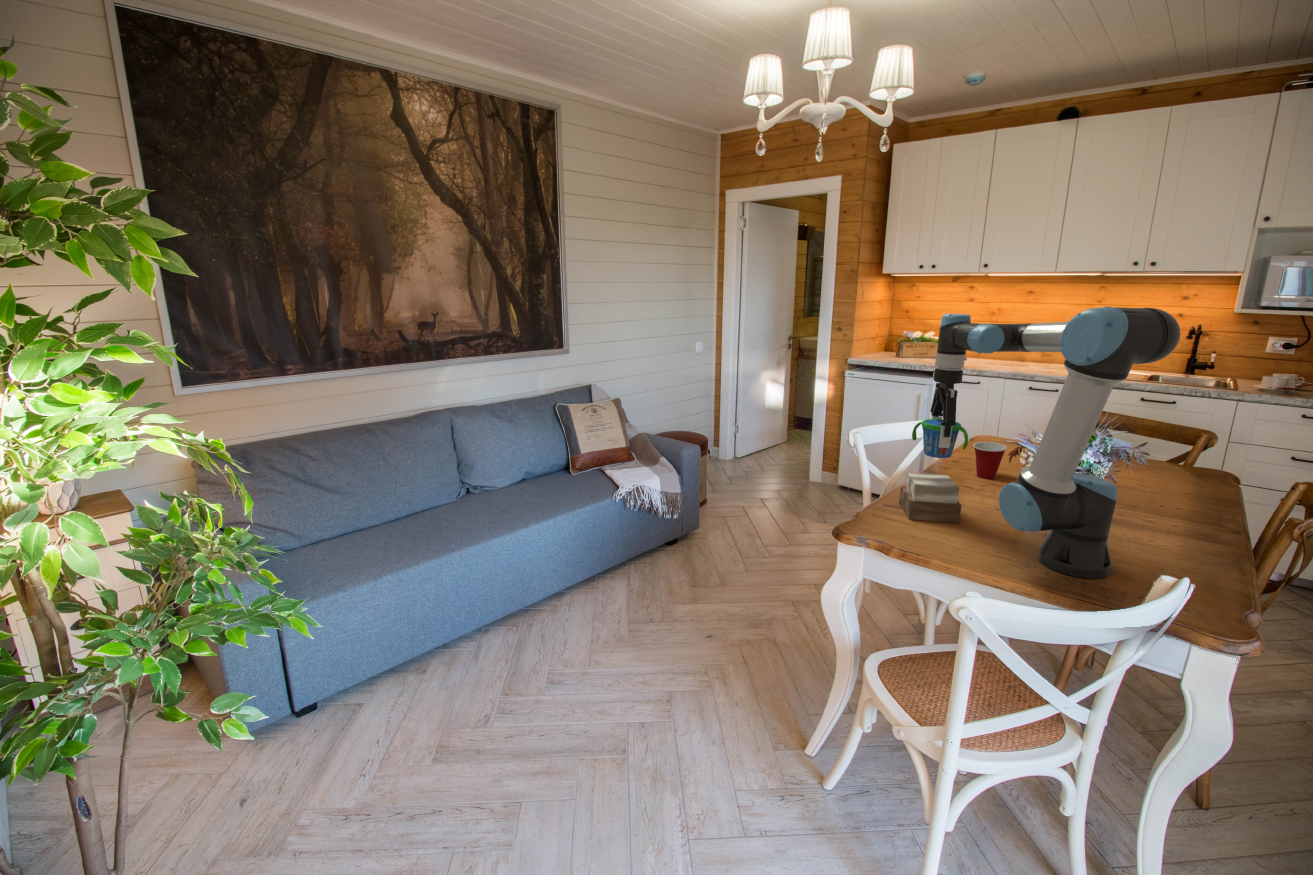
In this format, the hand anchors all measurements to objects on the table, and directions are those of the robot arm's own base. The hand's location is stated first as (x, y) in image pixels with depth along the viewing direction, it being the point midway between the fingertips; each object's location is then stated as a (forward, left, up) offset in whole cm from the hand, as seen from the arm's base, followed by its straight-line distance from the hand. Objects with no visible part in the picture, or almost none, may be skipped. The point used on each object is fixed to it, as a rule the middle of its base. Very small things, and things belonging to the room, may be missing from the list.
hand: (938, 442), depth 184 cm
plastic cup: (+43, -29, -22) cm, 56 cm away
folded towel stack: (0, +1, -22) cm, 22 cm away
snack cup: (0, 0, -4) cm, 4 cm away
